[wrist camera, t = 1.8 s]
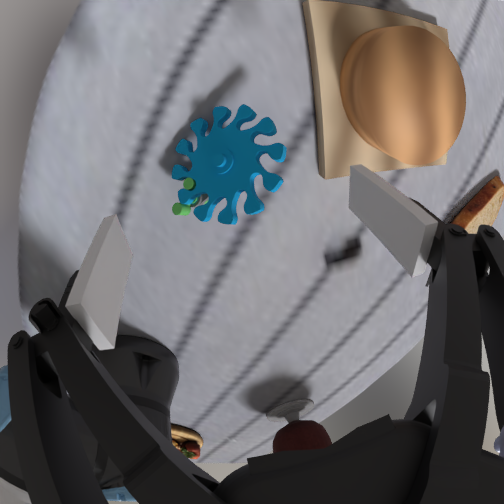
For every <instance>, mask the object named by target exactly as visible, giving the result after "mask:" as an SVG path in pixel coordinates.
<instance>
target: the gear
mask: <svg viewBox="0 0 504 504" xmlns="http://www.w3.org/2000/svg"><path fill="white" fill-rule="evenodd" d="M256 115H257V114H256V113H255V112H254V111H253V110H252V109H251V108H250V107H248V106H246V105H244V104H243V105H241V106H240V107H239V109H238V112H237V115H236V117H235V119H234V120H233V121H232V122H231V123H230V124H229V125H228V126H227V127H225V128H223V129H222V125H223V123H224V122H225V121H226V120H228V119H229V118H230V116H231V110H229V109H228V108H227V107H223V106H219V107H215V108H214V110H213V116H214V123H213V127H212V129H211V131H210V133H209V135H207V136H205V133H206V130H207V128H208V122H207V121H206V120H204V119H202V118H199V119H196V120H195V121H193V122H192V123H191V125H190V127H191V129H192V130H193V131H194V132H195V134H196V136H197V149H196V150H195V151H194V152H193V145H192V143H191V142H190V141H188V140H185V139H182V140H181V141H180V142H179V143H178V145H177V147H176V148H175V149H176V151H177V152H178V153H180V154H183V155H187V156H188V157H189V159H190V160H191V162H192V168H191V170H190V171H188V170H187V168H186V167H185V166H181V165H178V164H177V165H174V167H173V170H172V178H173V179H176V180H184V179H185V180H184V183H183V186H184V188H185V189H180V190H179V191H178V197H179V201H180V203H175V204H174V205H173V207H172V211H173V213H174V214H175V215H188V214H189V213H190V211H191V207H196V208H195V209H194V212H193V213H194V214H195V216H196V217H197V218H198V219H199V220H200V221H204V222H207V221H209V220H210V219H211V217H212V213H213V210H214V208H215V206H216V205H217V204H218V203H219V202H220V201H221V200H222V199H223V198H226V200H227V206H226V207H225V208H224V209H223V210H222V211H221V212H220V213H219V215H218V221H219V222H220V223H223V224H234V225H235V224H236V223H237V220H238V217H237V213H236V205H237V201H238V198H239V196H240V194H241V193H242V192H243V191H246V193H247V199H246V202H245V204H244V211H245V213H246V214H250V215H253V214H257V213H260V212H262V211H263V210H264V204H263V202H262V201H261V200H260V199H259V198H258V197H257V195H256V192H255V188H254V179H255V177H256V176H257V175H260V174H261V175H262V177H263V185H264V187H265V189H267V190H268V191H271V192H275V191H277V190H278V189H279V187H280V186H281V185H282V183H283V182H284V181H283V179H282V178H281V177H280V176H278V175H277V174H274V173H269V172H267V171H266V170H265V169H264V168H263V167H262V165H261V164H260V161H259V159H260V156H261V155H262V154H265V153H268V154H269V156H270V157H271V158H272V159H273V160H275V161H276V162H284V160H285V157H286V147H285V146H284V145H283V144H281V143H275V144H272V145H268V146H262V145H258V144H255V143H254V139H255V137H256V136H257V135H258V134H263V135H266V136H273V135H275V134H276V133H277V130H276V127H275V124H274V123H273V121H272V120H271V119H270V118H269V117H266V118H263V119H262V120H261V121H260V122H259V123H258V124H257V125H256V126H254V127H252V128H250V129H247V130H242V131H240V127H241V125H242V124H243V123H245V122H249V121H252V120H254V119H255V117H256ZM203 204H205V205H203Z"/></svg>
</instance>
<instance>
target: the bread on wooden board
mask: <svg viewBox="0 0 504 504" xmlns="http://www.w3.org/2000/svg"><path fill="white" fill-rule="evenodd" d="M302 4H303V10H304V17H305V23H306V30H307V37H308V44H309V52H310V60H311V68H312V77H313V87H314V98H315V110H316V123H317V139H318V158H319V175H320V176H322V177H323V178H324V179H332V178H338V177H344V176H350V166H351V165H359V164H362V165H363V166H365V167H366V168H368V169H369V170H371V171H372V172H380V171H387V170H396V169H404V168H413V167H423V166H433V165H444V164H446V160H447V152H448V150H449V149H450V148H451V146H452V145H453V143H454V142H455V140H456V139H457V137H458V135H459V132H460V130H461V127H462V124H463V120H464V115H465V108H466V93H465V85H464V80H463V76H462V73H461V70H460V67H459V65H458V63H457V61H456V59H455V57H454V55H453V54H452V52H451V51H450V49H449V42H448V33H447V29H445V28H442V27H440V26H437V25H434V24H431V23H428V22H425V21H422V20H419V19H416V18H412V17H409V16H405V15H402V14H398V13H394V12H390V11H385V10H381V9H376V8H371V7H366V6H360V5H354V4H347V3H340V2H331V1H321V0H307V1H305V2H303V3H302Z"/></svg>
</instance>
